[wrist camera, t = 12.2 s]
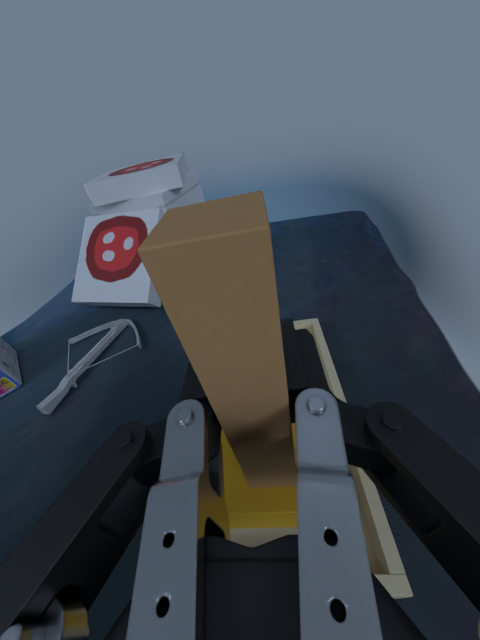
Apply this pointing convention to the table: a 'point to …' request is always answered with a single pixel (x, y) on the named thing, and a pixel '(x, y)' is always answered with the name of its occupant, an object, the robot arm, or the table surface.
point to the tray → (371, 510)
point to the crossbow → (85, 361)
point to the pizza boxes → (128, 229)
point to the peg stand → (232, 344)
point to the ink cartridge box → (8, 369)
